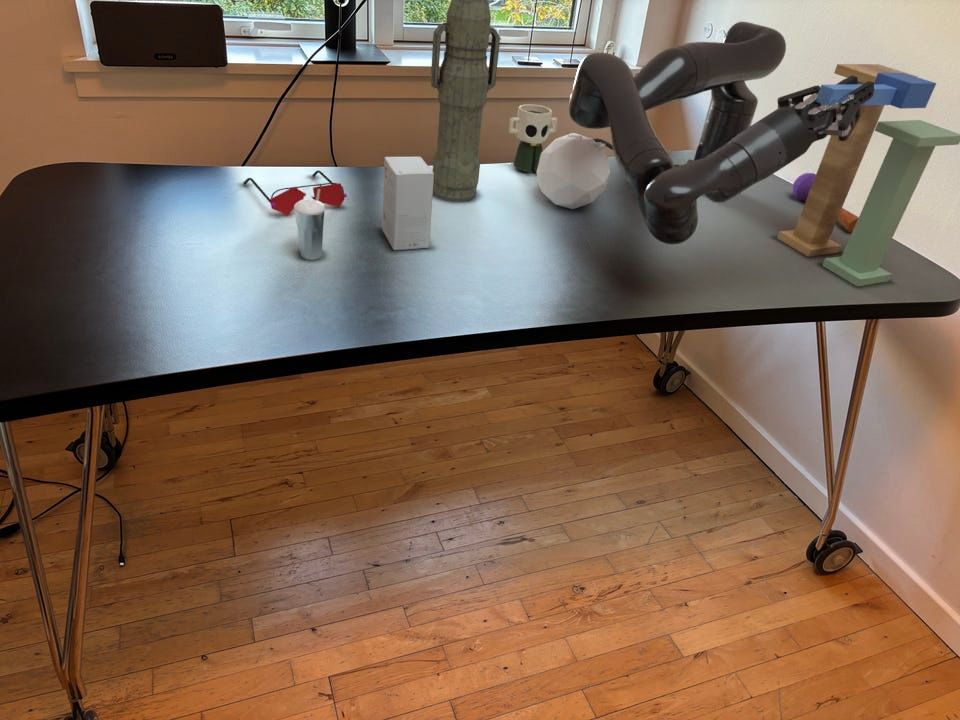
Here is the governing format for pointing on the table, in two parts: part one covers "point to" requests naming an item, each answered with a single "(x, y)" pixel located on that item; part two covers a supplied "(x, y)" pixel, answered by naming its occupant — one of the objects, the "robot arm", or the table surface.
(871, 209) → the green pillar
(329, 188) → the glasses
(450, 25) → the green handled vase
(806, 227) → the tall stand
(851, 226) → the kendama
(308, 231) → the milkshake
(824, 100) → the peg
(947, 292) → the table surface
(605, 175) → the geodesic sphere
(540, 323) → the table surface
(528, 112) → the character mug
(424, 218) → the small box
